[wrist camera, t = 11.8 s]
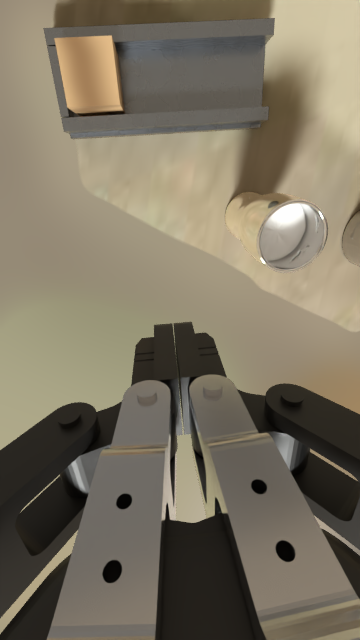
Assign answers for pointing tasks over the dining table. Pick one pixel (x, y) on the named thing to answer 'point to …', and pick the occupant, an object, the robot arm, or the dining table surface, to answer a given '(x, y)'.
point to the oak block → (90, 75)
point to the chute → (176, 77)
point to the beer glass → (278, 229)
